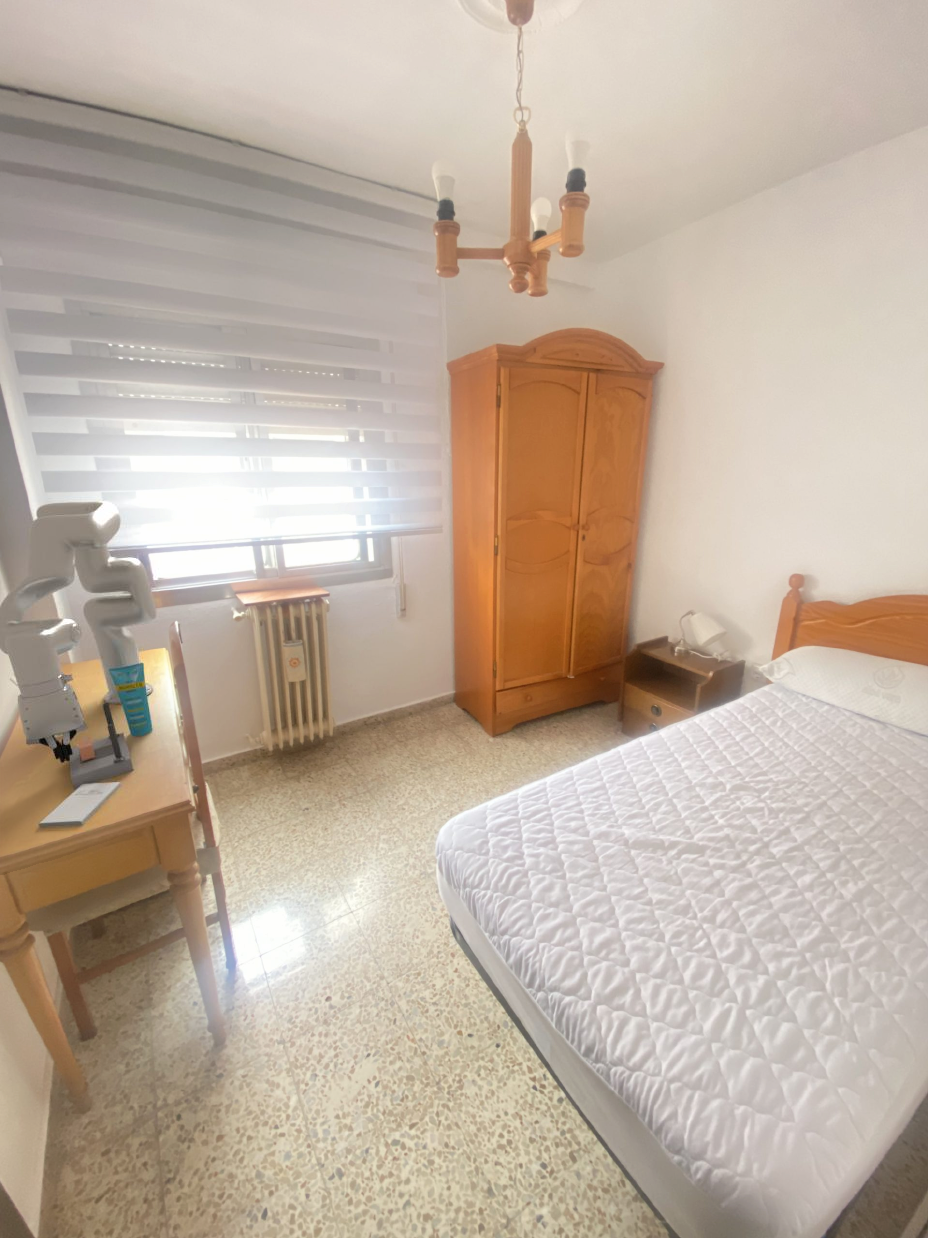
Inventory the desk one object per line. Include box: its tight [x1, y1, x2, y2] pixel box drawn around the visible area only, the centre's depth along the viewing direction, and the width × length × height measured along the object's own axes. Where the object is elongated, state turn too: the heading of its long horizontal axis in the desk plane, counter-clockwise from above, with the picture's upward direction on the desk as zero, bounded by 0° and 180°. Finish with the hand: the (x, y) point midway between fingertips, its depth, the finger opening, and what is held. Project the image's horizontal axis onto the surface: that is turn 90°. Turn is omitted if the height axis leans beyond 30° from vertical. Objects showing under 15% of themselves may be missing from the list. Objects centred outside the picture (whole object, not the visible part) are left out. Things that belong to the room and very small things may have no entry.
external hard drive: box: [38, 781, 122, 828], centre depth 102 cm, size 2×8×12 cm
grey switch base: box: [69, 732, 134, 790], centre depth 116 cm, size 16×11×3 cm
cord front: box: [107, 724, 122, 758], centre depth 111 cm, size 1×1×8 cm
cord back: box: [102, 702, 117, 733], centre depth 121 cm, size 1×1×8 cm
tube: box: [108, 662, 153, 737], centre depth 127 cm, size 7×5×19 cm, turn 123°
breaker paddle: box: [77, 737, 95, 761], centre depth 114 cm, size 4×2×3 cm, turn 39°
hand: (65, 759), depth 112 cm, fingers closed
